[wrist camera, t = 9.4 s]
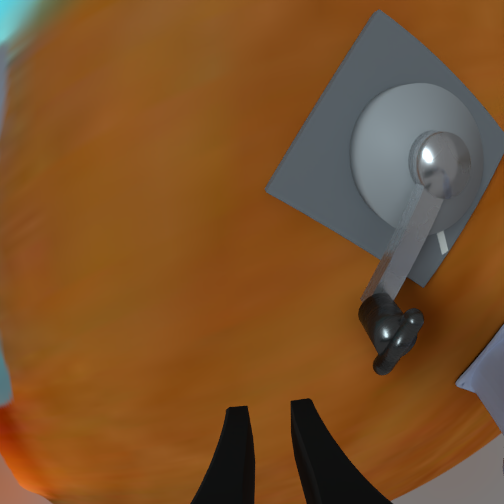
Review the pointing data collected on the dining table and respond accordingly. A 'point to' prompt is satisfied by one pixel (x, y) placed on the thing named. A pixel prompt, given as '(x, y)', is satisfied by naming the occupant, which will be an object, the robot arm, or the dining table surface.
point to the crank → (411, 244)
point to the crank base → (330, 133)
